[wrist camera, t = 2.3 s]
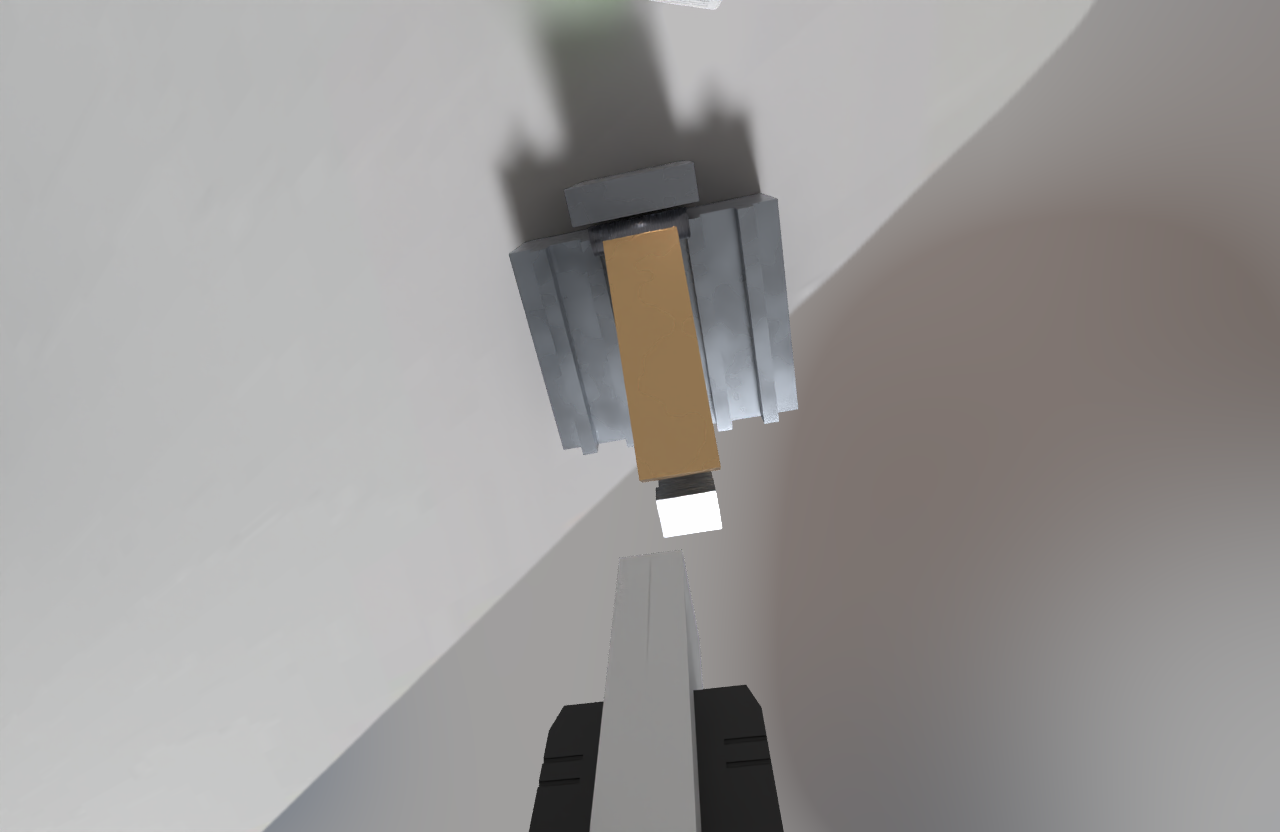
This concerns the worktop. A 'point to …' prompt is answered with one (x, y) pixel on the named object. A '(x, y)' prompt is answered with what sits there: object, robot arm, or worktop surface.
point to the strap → (658, 344)
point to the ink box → (694, 3)
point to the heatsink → (721, 305)
